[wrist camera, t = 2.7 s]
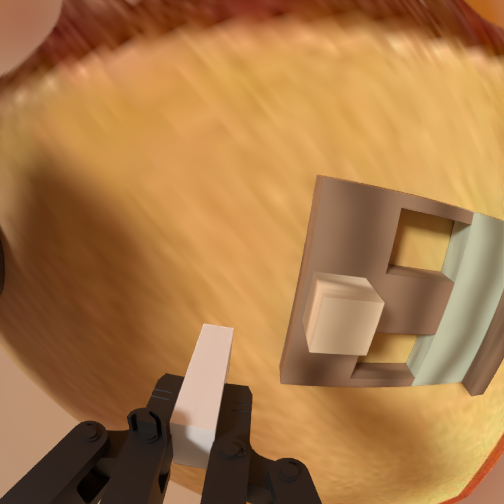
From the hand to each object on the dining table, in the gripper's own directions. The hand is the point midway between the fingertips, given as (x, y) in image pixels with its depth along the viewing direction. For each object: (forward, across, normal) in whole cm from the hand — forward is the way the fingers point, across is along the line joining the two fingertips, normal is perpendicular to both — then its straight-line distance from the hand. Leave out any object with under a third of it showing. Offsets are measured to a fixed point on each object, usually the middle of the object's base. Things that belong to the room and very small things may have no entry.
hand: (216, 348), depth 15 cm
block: (+7, +8, 0) cm, 10 cm away
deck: (+10, +16, 0) cm, 19 cm away
